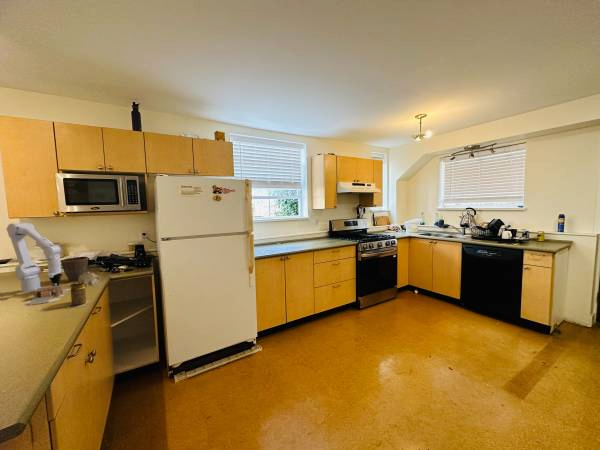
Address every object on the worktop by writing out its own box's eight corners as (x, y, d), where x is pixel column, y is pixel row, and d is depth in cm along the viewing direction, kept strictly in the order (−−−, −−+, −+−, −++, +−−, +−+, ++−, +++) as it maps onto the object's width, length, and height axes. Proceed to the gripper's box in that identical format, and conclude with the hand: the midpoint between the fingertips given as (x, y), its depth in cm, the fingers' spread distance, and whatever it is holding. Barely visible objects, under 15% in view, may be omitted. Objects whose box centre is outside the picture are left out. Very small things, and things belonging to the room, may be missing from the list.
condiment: (89, 300, 142) (87, 280, 141) (84, 306, 135) (82, 284, 134) (72, 303, 139) (70, 282, 138) (66, 308, 131) (64, 286, 130)
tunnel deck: (43, 293, 155) (42, 284, 155) (72, 289, 162) (71, 280, 161) (21, 308, 132) (19, 297, 132) (56, 303, 139) (55, 293, 138)
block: (44, 297, 146) (43, 290, 146) (53, 295, 148) (52, 289, 147) (41, 299, 142) (40, 292, 142) (50, 298, 144) (50, 291, 144)
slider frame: (48, 291, 154) (47, 283, 154) (63, 289, 157) (62, 281, 157) (29, 304, 134) (28, 295, 134) (48, 302, 137) (47, 293, 137)
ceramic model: (105, 283, 173) (104, 269, 172) (90, 289, 162) (88, 274, 161) (87, 283, 175) (86, 269, 174) (71, 288, 163) (69, 273, 163)
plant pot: (93, 279, 183) (91, 257, 182) (66, 285, 171) (64, 262, 169) (85, 276, 191) (83, 255, 190) (59, 281, 179) (57, 259, 177)
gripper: (58, 266, 151) (60, 288, 152) (66, 261, 164) (69, 281, 165) (42, 268, 148) (44, 290, 149) (52, 263, 160) (54, 283, 162)
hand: (56, 286), depth 157 cm, fingers closed
